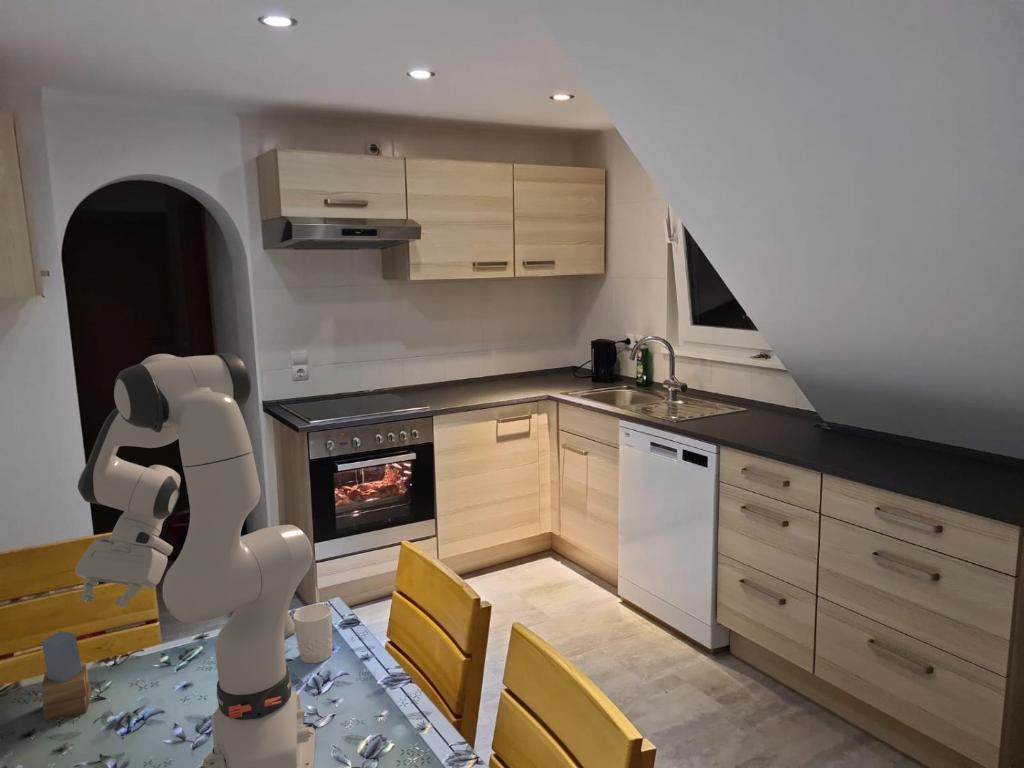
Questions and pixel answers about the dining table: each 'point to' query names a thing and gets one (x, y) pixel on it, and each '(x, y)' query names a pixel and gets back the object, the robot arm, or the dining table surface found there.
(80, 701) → the tower base
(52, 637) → the pillar
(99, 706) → the dining table surface
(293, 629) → the flask
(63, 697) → the tower top
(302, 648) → the white cup
